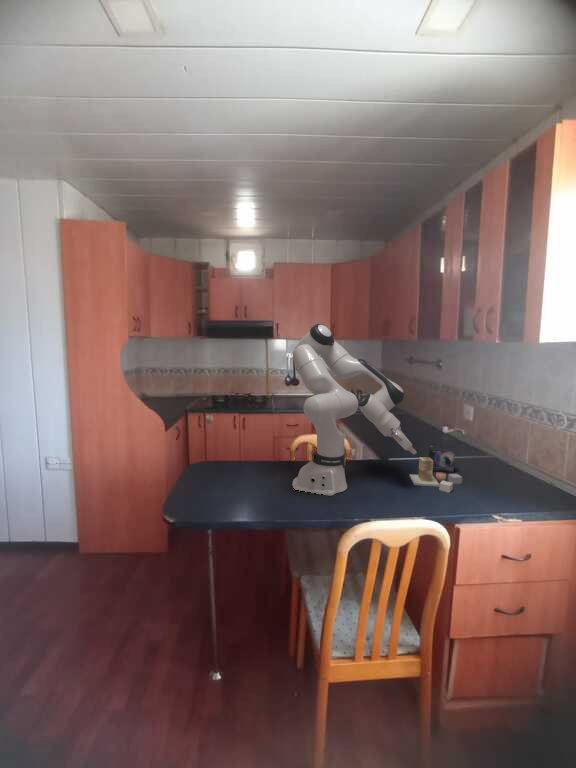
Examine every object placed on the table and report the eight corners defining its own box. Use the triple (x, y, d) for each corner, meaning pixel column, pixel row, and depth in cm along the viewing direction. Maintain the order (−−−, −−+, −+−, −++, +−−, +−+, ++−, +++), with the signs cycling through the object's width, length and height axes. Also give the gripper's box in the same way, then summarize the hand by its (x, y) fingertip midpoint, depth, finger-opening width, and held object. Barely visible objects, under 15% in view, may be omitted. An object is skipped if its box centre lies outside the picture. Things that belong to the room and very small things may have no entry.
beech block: (421, 481, 154) (422, 460, 153) (418, 477, 159) (419, 457, 158) (432, 481, 154) (433, 461, 153) (428, 477, 159) (429, 457, 157)
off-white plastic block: (439, 490, 148) (439, 483, 147) (442, 487, 151) (442, 480, 150) (449, 493, 145) (449, 485, 145) (452, 489, 148) (453, 482, 148)
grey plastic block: (453, 484, 154) (453, 477, 154) (447, 480, 158) (448, 474, 157) (461, 484, 154) (462, 477, 154) (456, 480, 158) (456, 473, 158)
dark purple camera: (429, 471, 168) (430, 449, 167) (427, 466, 175) (428, 445, 173) (454, 473, 166) (455, 451, 164) (451, 468, 172) (452, 446, 171)
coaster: (414, 485, 152) (414, 483, 152) (409, 476, 162) (409, 474, 162) (439, 486, 151) (439, 484, 151) (432, 477, 161) (432, 475, 161)
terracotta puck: (437, 482, 156) (437, 475, 156) (434, 478, 160) (434, 471, 160) (446, 482, 156) (447, 475, 155) (444, 478, 160) (444, 472, 159)
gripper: (400, 427, 143) (424, 452, 144) (391, 416, 164) (412, 438, 164) (388, 437, 144) (412, 462, 145) (380, 425, 165) (401, 447, 165)
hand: (412, 449), depth 154 cm, fingers open, 8 cm apart
